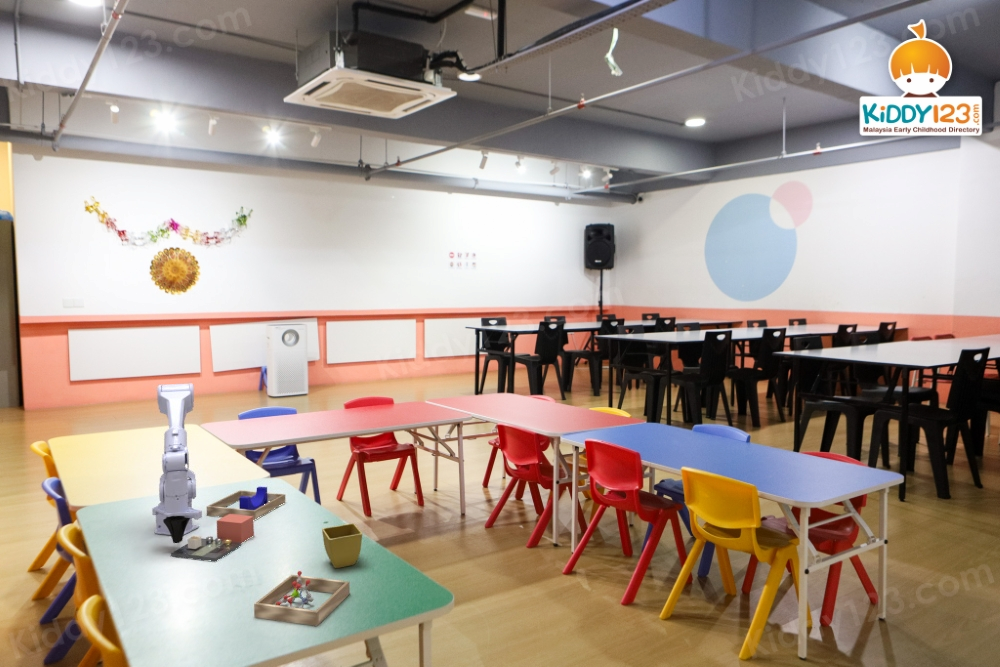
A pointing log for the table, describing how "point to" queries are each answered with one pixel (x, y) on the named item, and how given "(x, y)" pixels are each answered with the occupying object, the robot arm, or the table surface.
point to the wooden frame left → (221, 511)
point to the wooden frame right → (297, 615)
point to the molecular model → (297, 594)
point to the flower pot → (342, 544)
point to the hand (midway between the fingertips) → (177, 541)
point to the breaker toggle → (194, 542)
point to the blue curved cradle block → (254, 500)
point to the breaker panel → (207, 549)
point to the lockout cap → (235, 527)
